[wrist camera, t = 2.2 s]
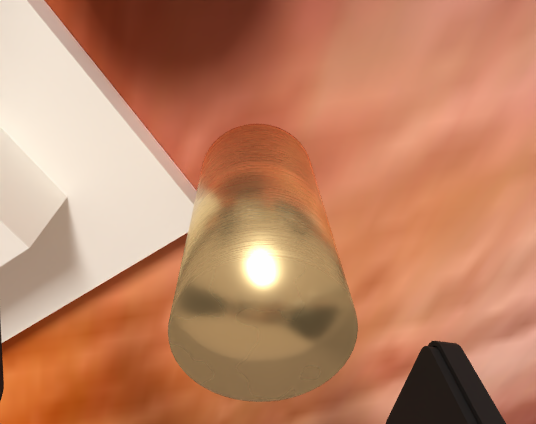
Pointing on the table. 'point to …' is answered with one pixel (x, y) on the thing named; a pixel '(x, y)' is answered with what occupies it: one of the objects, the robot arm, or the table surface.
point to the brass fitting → (260, 274)
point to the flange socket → (72, 173)
